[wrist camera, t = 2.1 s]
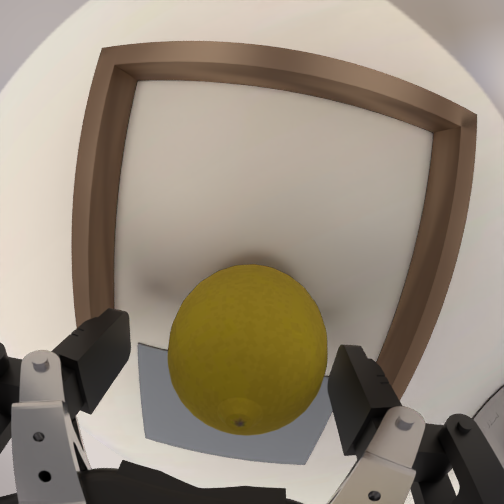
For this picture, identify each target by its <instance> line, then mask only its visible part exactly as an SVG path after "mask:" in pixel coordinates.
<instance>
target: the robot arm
mask: <svg viewBox="0 0 504 504" xmlns="http://www.w3.org/2000/svg"><path fill="white" fill-rule="evenodd" d="M130 351H131V342H130V326H129V315H128V313H127V312H125V311H121V310H117V309H112V308H108V309H107V310H106V311H104V312H103V313H102V314H101V315H100V316H99V317H94V318H92V319H89V320H87V321H85V322H83V323H82V324H81V325H80V326H79V327H78V328H77V329H76V330H74V331H73V332H72V333H71V335H69V336H68V337H67V338H65V339H64V340H63V341H62V342H61V343H60V344H59V345H58V346H57V347H56V348H55V349H53V350H52V351H47V350H38V351H34V352H31V353H29V354H27V355H26V356H25V357H24V358H23V360H22V359H16V358H11V357H8V356H7V353H6V350H5V347H4V345H3V344H2V343H0V453H1V452H2V450H3V449H4V447H5V446H6V444H7V443H8V441H9V440H10V439H11V437H12V454H13V465H14V475H15V482H16V489H17V493H14V494H10V495H6V496H2V497H0V504H303V503H301V502H297V501H294V500H291V499H287V498H286V489H285V488H265V487H251V486H239V487H226V488H198V487H195V486H193V485H190V484H188V483H185V482H183V481H181V480H178V479H176V478H174V477H172V476H170V475H168V474H165V473H163V472H161V471H158V470H155V469H151V468H147V467H144V466H141V465H137V464H134V463H131V462H128V461H125V460H122V462H121V464H120V467H119V469H115V468H97V469H92V468H91V466H90V463H89V461H88V458H87V455H86V451H85V447H84V443H83V440H82V436H81V432H80V427H79V423H78V419H77V416H76V415H77V413H78V412H79V411H80V410H81V411H83V412H86V413H88V414H92V413H93V411H94V410H95V408H96V407H97V405H98V404H99V402H100V401H101V399H102V398H103V396H104V395H105V393H106V392H107V390H108V389H109V387H110V386H111V384H112V383H113V381H114V380H115V378H116V377H117V376H118V374H119V373H120V371H121V370H122V368H123V367H124V365H125V364H126V362H127V361H128V359H129V356H130ZM327 390H328V395H329V399H330V402H331V406H332V410H333V414H334V417H335V421H336V425H337V429H338V433H339V437H340V441H341V445H342V449H343V453H344V456H348V455H356V456H357V461H356V463H355V464H354V466H353V467H352V469H351V470H350V472H349V473H348V475H347V476H346V478H345V479H344V481H343V482H342V483H341V485H340V486H339V488H338V489H337V490H336V492H335V493H334V495H333V496H332V497H331V499H330V500H329V501H328V502H327V504H404V502H405V500H406V497H407V495H408V493H409V490H410V489H411V492H412V496H413V499H414V502H415V504H504V387H503V388H502V389H500V390H499V391H498V392H497V393H496V394H495V395H494V396H493V397H492V398H491V399H490V400H489V401H488V402H487V403H486V404H485V406H484V407H483V408H482V409H481V410H480V411H479V413H478V414H477V415H476V416H475V418H474V419H472V418H470V417H468V416H466V415H463V414H454V415H451V416H450V417H449V418H448V419H447V421H446V422H445V424H444V425H435V424H427V423H425V421H424V419H423V417H422V416H421V415H420V414H419V413H418V412H417V411H415V410H414V409H411V408H408V407H404V406H402V405H401V403H400V401H399V399H398V397H397V395H396V393H395V392H394V390H393V388H392V386H391V384H389V381H388V379H387V377H385V374H384V372H383V370H382V368H381V367H380V366H379V365H378V364H377V363H376V362H375V361H373V360H372V359H368V358H367V356H366V354H365V353H364V351H363V349H362V347H361V346H356V345H341V346H340V347H339V349H338V352H337V355H336V358H335V361H334V364H333V367H332V369H331V372H330V375H329V379H328V385H327ZM452 468H453V470H454V472H455V475H456V477H457V479H458V482H459V485H460V489H459V493H458V495H457V496H456V494H455V491H454V489H453V486H452V484H451V481H450V479H449V477H448V474H447V473H448V472H449V471H450V470H451V469H452Z"/></svg>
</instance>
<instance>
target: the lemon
mask: <svg viewBox="0 0 504 504" xmlns="http://www.w3.org/2000/svg"><path fill="white" fill-rule="evenodd" d="M326 367H327V333H326V328H325V325H324V322H323V319H322V316H321V314H320V311H319V308H318V306H317V305H316V303H315V302H314V300H313V299H312V297H311V296H310V295H309V293H308V292H307V291H306V289H305V288H304V287H303V286H302V285H301V284H299V283H298V282H297V281H296V280H294V279H293V278H292V277H290V276H289V275H287V274H285V273H283V272H281V271H278V270H276V269H274V268H272V267H267V266H261V265H256V264H250V265H236V266H233V267H229V268H226V269H223V270H220V271H218V272H216V273H214V274H213V275H211V276H209V277H208V278H206V279H205V280H203V281H201V282H200V283H199V284H198V285H197V286H196V287H195V288H194V289H193V291H192V292H191V293H190V294H189V295H188V296H187V297H186V299H185V300H184V301H183V303H182V305H181V307H180V309H179V311H178V313H177V315H176V317H175V320H174V322H173V325H172V328H171V332H170V339H169V347H168V368H169V373H170V378H171V382H172V385H173V387H174V389H175V391H176V393H177V395H178V397H179V399H180V400H181V402H182V403H183V404H184V405H185V407H186V408H187V409H188V410H189V411H190V412H191V413H192V414H193V415H194V416H195V417H196V418H198V419H199V420H200V421H202V422H203V423H205V424H206V425H208V426H210V427H212V428H215V429H217V430H219V431H222V432H225V433H229V434H233V435H244V436H249V435H260V434H264V433H268V432H272V431H275V430H278V429H280V428H282V427H284V426H286V425H288V424H290V423H291V422H293V421H294V420H295V419H297V418H298V417H299V416H300V415H301V414H303V413H304V412H305V411H306V409H307V408H308V407H309V406H310V404H311V403H312V401H313V400H314V399H315V397H316V396H317V394H318V392H319V390H320V387H321V384H322V381H323V378H324V375H325V371H326Z"/></svg>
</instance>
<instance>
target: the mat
mask: <svg viewBox="0 0 504 504" xmlns="http://www.w3.org/2000/svg"><path fill="white" fill-rule="evenodd" d="M138 366H139V381H140V394H141V405H142V414H143V423H144V431H145V438H147V439H150V440H153V441H157V442H160V443H164V444H168V445H171V446H175V447H179V448H183V449H188V450H192V451H197V452H201V453H206V454H211V455H217V456H222V457H228V458H235V459H242V460H249V461H258V462H268V463H280V464H297V465H305V464H306V462H307V460H308V458H309V456H310V455H311V453H312V451H313V449H314V447H315V445H316V443H317V441H318V440H319V438H320V436H321V434H322V432H323V430H324V428H325V426H326V424H327V422H328V420H329V417H330V415H331V413H332V411H333V410H332V406H331V402H330V399H329V395H328V390H327V385H328V379H329V377H325V376H324V378H323V381H322V384H321V387H320V390H319V392H318V394H317V396H316V397H315V399H314V400H313V401H312V403H311V404H310V406H309V407H308V408H307V409H306V411H305V412H304V413H303V414H301V415H300V416H299V417H298V418H297V419H295V420H294V421H293V422H291V423H290V424H288V425H286V426H284V427H282V428H280V429H278V430H275V431H272V432H268V433H264V434H260V435H249V436H244V435H233V434H229V433H225V432H222V431H219V430H217V429H215V428H212V427H210V426H208V425H206V424H205V423H203V422H202V421H200V420H199V419H198V418H196V417H195V416H194V415H193V414H192V413H191V412H190V411H189V410H188V409H187V408H186V407H185V405H184V404H183V403H182V402H181V400H180V399H179V397H178V395H177V393H176V391H175V389H174V387H173V385H172V382H171V378H170V373H169V368H168V351H167V350H163V349H159V348H155V347H151V346H147V345H144V344H140V343H138Z"/></svg>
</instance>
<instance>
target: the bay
mask: <svg viewBox="0 0 504 504" xmlns="http://www.w3.org/2000/svg"><path fill="white" fill-rule="evenodd" d="M140 80H188V81H209V82H222V83H233V84H243V85H251V86H259V87H266V88H273V89H279V90H285V91H291V92H296V93H302V94H307V95H312V96H316V97H321V98H325V99H330V100H334V101H338V102H342V103H346V104H349V105H353V106H357V107H360V108H364V109H367V110H371V111H374V112H377V113H380V114H383V115H387V116H390V117H393V118H396V119H398V120H401V121H404V122H407V123H410V124H412V125H415V126H418V127H420V128H423V129H425V130H428V131H430V132H433V133H434V135H433V146H432V155H431V164H430V171H429V178H428V185H427V191H426V197H425V202H424V208H423V213H422V218H421V223H420V227H419V232H418V236H417V240H416V245H415V249H414V253H413V256H412V260H411V264H410V268H409V271H408V275H407V278H406V282H405V285H404V288H403V291H402V295H401V298H400V301H399V304H398V307H397V310H396V313H395V316H394V319H393V321H392V324H391V327H390V330H389V332H388V335H387V338H386V340H385V343H384V345H383V348H382V350H381V353H380V355H379V358H378V360H377V362H376V363H377V364H378V365H379V366H380V367H381V368H382V370H383V372H384V374H385V377H387V379H388V381H389V384H391V386H392V388H393V390H394V392H395V393H396V395H397V397H398V399H399V401H400V399H401V397H402V395H403V394H404V392H405V390H406V388H407V386H408V384H409V382H410V380H411V378H412V376H413V374H414V372H415V370H416V368H417V366H418V364H419V362H420V360H421V357H422V355H423V353H424V351H425V349H426V346H427V344H428V342H429V339H430V337H431V334H432V332H433V330H434V327H435V324H436V322H437V319H438V317H439V314H440V311H441V308H442V306H443V303H444V300H445V297H446V294H447V291H448V288H449V285H450V281H451V278H452V275H453V271H454V268H455V264H456V261H457V257H458V253H459V249H460V245H461V241H462V237H463V232H464V228H465V223H466V218H467V212H468V207H469V201H470V195H471V188H472V180H473V172H474V163H475V151H476V134H477V114H475V113H473V112H471V111H469V110H468V109H466V108H464V107H462V106H460V105H458V104H456V103H454V102H452V101H450V100H448V99H446V98H444V97H442V96H440V95H438V94H435V93H433V92H431V91H429V90H426V89H424V88H422V87H419V86H417V85H414V84H412V83H409V82H407V81H404V80H402V79H399V78H396V77H394V76H391V75H388V74H385V73H382V72H379V71H376V70H373V69H370V68H367V67H363V66H360V65H357V64H353V63H350V62H346V61H342V60H338V59H334V58H330V57H326V56H321V55H317V54H312V53H307V52H302V51H296V50H291V49H285V48H278V47H271V46H263V45H255V44H244V43H232V42H213V41H169V42H150V43H138V44H128V45H120V46H112V47H106V48H102V50H101V53H100V56H99V60H98V63H97V66H96V70H95V73H94V77H93V81H92V84H91V88H90V92H89V97H88V101H87V105H86V110H85V115H84V120H83V125H82V131H81V137H80V143H79V149H78V156H77V164H76V173H75V183H74V195H73V210H72V280H73V296H74V308H75V317H76V326H77V328H78V327H79V326H80V325H81V324H82V323H83V322H85V321H87V320H89V319H92V318H94V317H99V316H100V315H101V314H102V313H103V312H104V311H106V310H107V309H108V308H112V309H114V241H115V223H116V209H117V198H118V188H119V179H120V171H121V164H122V157H123V150H124V144H125V138H126V132H127V126H128V121H129V116H130V111H131V106H132V102H133V97H134V93H135V89H136V84H137V81H140Z"/></svg>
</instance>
